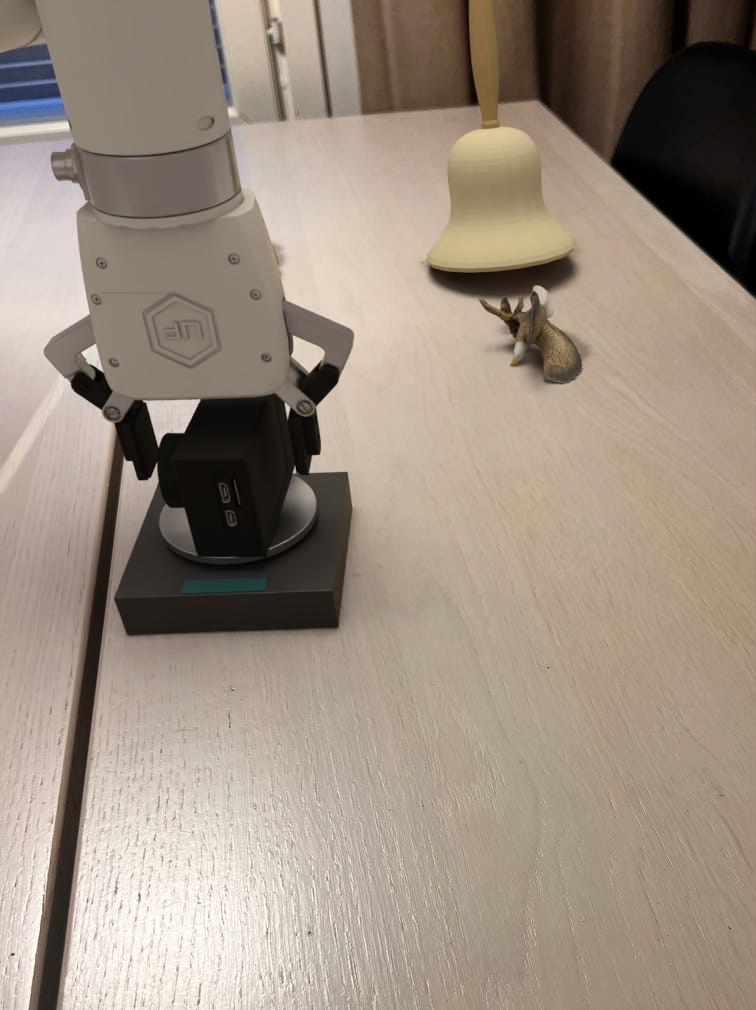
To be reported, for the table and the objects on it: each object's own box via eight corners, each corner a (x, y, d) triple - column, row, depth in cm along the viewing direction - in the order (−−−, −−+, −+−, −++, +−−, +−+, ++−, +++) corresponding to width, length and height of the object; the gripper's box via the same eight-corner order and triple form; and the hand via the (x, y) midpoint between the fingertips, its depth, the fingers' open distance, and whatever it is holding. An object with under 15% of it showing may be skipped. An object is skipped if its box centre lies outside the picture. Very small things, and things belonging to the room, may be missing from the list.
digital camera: (216, 465, 67) (194, 370, 62) (295, 465, 67) (279, 370, 62) (177, 558, 59) (148, 457, 55) (266, 558, 59) (245, 457, 55)
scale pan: (147, 573, 60) (143, 560, 59) (179, 482, 67) (176, 470, 67) (311, 567, 60) (308, 554, 59) (325, 477, 68) (323, 465, 67)
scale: (126, 635, 60) (112, 596, 58) (169, 513, 70) (159, 476, 68) (338, 628, 60) (332, 588, 58) (352, 507, 70) (347, 469, 68)
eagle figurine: (460, 343, 86) (513, 365, 79) (491, 263, 84) (548, 278, 78) (526, 372, 91) (582, 395, 84) (557, 296, 89) (616, 313, 82)
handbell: (461, 296, 93) (428, -20, 80) (407, 271, 105) (371, -8, 92) (604, 267, 98) (595, -37, 84) (536, 246, 110) (519, -23, 96)
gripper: (-38, 204, 47) (71, 505, 58) (328, 193, 47) (363, 495, 58) (13, 156, 52) (103, 439, 64) (340, 146, 52) (370, 430, 64)
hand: (227, 466), depth 61 cm, fingers open, 9 cm apart
